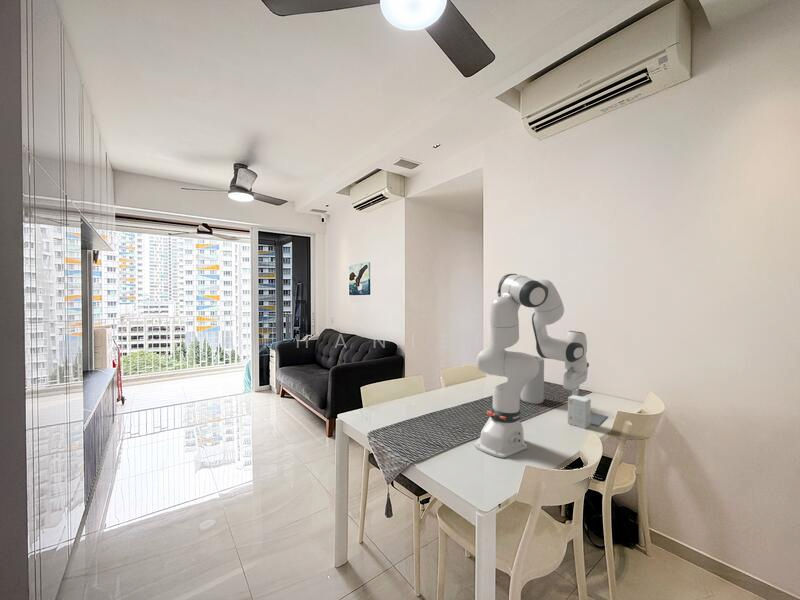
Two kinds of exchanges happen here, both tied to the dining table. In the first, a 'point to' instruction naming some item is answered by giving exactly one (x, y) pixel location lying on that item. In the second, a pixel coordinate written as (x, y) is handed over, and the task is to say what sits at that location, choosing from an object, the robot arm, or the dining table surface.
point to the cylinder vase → (534, 386)
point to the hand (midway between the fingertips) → (574, 394)
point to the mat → (596, 419)
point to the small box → (579, 411)
